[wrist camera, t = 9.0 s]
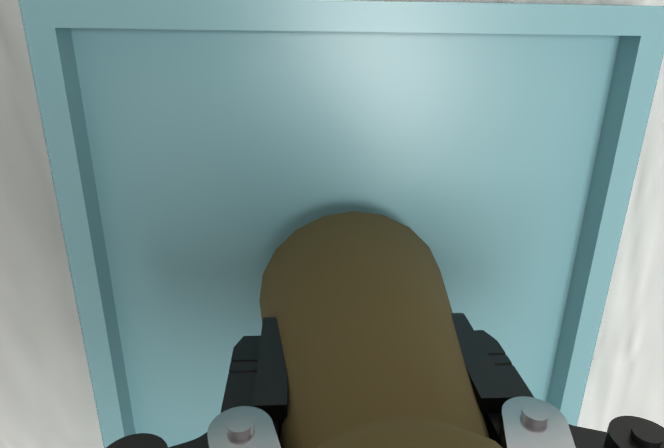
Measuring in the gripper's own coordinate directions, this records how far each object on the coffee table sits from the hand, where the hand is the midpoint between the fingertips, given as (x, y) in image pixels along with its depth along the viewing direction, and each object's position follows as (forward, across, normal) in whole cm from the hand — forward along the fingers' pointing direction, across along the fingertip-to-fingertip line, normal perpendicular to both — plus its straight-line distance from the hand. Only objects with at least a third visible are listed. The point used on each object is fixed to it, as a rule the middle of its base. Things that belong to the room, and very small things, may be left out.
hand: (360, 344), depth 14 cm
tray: (+5, 0, 0) cm, 5 cm away
